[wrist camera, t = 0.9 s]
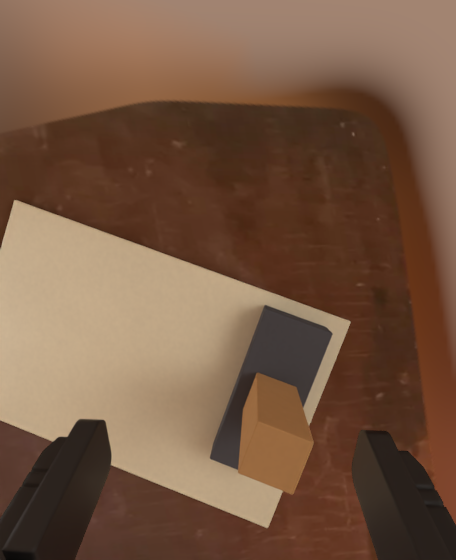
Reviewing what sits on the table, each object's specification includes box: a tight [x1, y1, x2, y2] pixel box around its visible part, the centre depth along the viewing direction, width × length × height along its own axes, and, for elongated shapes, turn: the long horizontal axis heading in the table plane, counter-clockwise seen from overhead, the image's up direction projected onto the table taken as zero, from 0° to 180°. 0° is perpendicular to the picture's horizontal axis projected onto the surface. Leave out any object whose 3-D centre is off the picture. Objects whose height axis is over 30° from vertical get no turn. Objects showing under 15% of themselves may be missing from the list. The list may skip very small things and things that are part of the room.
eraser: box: [210, 305, 333, 495], centre depth 21 cm, size 12×5×9 cm, turn 160°
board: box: [0, 200, 351, 528], centre depth 26 cm, size 18×28×1 cm, turn 70°
